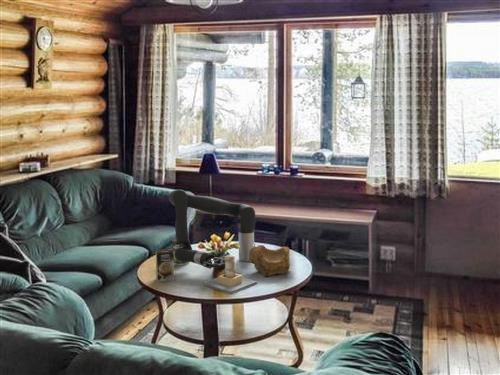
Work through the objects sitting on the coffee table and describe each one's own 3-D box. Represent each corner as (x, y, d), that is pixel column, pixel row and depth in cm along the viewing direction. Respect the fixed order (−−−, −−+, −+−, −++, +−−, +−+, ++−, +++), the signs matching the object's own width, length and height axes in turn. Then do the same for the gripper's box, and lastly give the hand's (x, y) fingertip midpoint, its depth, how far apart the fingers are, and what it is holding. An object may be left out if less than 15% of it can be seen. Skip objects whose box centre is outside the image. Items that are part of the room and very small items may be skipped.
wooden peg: (229, 279, 298) (229, 254, 296) (236, 281, 295) (236, 256, 292) (223, 282, 294) (223, 256, 292) (230, 284, 291) (230, 258, 289)
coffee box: (157, 282, 299) (156, 253, 296) (156, 278, 305) (155, 249, 302) (174, 280, 301) (173, 251, 298) (173, 276, 307) (172, 248, 304)
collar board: (229, 275, 309) (229, 267, 308) (257, 283, 296) (257, 274, 295) (203, 285, 294) (203, 276, 293) (231, 293, 281) (231, 285, 280)
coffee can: (185, 265, 326) (185, 242, 324) (169, 264, 329) (168, 241, 327) (192, 260, 336) (192, 237, 333) (176, 259, 339) (176, 236, 336)
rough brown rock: (249, 280, 304) (250, 254, 300) (248, 268, 320) (248, 243, 316) (292, 280, 305) (293, 254, 301) (288, 268, 321) (290, 243, 317)
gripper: (194, 255, 300) (216, 261, 289) (213, 249, 310) (235, 254, 300) (194, 268, 301) (216, 275, 290) (213, 262, 312) (235, 268, 301)
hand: (225, 264), depth 295 cm, fingers open, 8 cm apart
